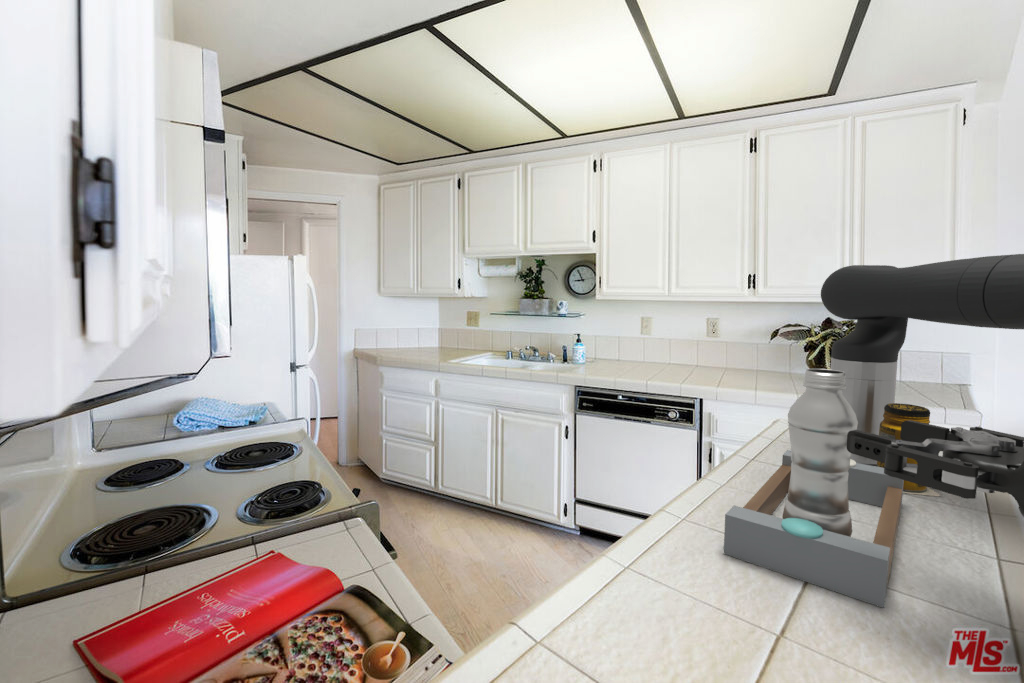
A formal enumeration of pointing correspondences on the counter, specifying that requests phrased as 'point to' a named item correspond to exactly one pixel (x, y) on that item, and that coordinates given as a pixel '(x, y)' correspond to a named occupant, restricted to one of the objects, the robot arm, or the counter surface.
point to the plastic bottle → (821, 452)
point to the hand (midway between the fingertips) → (876, 434)
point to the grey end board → (809, 553)
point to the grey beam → (864, 482)
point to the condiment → (892, 429)
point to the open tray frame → (779, 487)
